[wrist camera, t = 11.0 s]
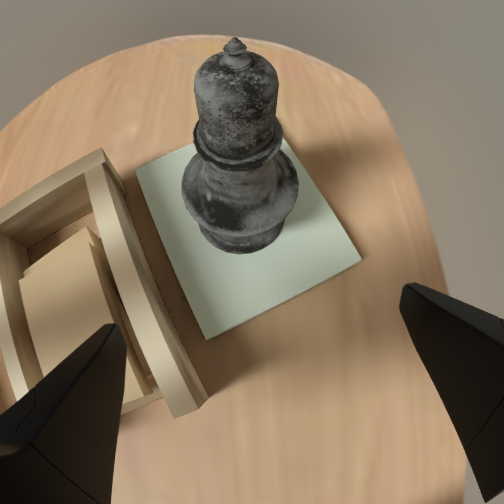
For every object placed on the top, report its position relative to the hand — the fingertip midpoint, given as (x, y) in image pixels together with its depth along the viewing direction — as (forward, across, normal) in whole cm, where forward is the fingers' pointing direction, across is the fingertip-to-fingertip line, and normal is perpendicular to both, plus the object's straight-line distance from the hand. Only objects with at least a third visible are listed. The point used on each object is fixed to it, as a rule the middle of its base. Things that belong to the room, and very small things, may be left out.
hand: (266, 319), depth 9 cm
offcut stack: (+7, +9, +6) cm, 13 cm away
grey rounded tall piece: (+11, 0, 0) cm, 11 cm away
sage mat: (+11, 0, +1) cm, 11 cm away
